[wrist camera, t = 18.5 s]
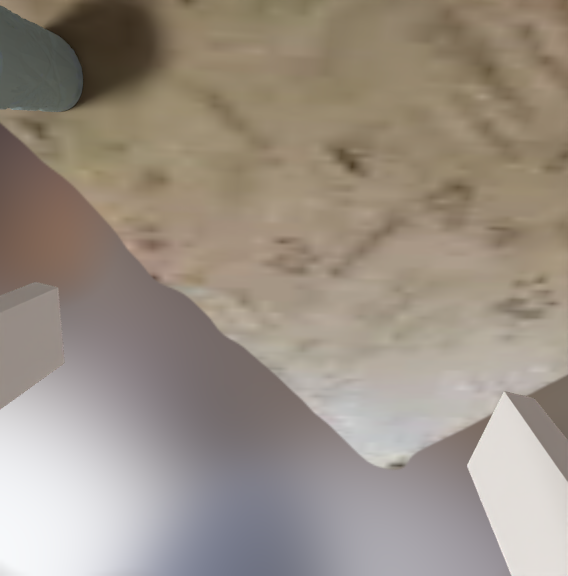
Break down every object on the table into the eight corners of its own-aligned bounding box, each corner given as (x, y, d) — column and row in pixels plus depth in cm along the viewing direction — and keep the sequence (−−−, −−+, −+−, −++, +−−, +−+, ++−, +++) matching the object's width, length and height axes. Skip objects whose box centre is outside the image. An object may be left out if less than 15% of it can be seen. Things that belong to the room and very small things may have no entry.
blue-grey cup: (39, 3, 39) (-81, -58, 28) (106, 73, 41) (17, 41, 30) (3, 77, 43) (-116, 47, 32) (65, 138, 44) (-28, 131, 33)
